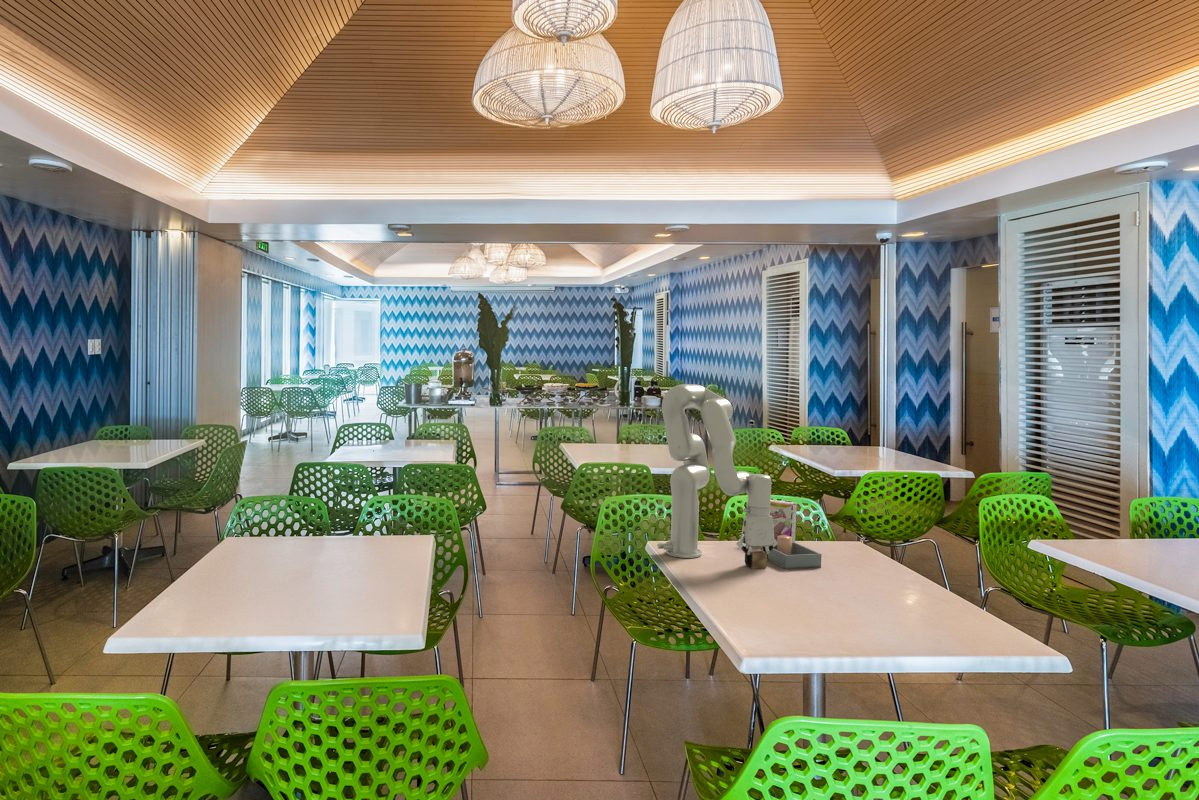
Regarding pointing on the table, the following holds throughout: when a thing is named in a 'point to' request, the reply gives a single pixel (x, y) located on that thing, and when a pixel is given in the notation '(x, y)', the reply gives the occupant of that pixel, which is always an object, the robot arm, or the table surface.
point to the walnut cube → (758, 559)
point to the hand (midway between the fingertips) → (756, 564)
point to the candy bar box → (783, 518)
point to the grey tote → (795, 557)
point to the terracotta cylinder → (784, 544)
